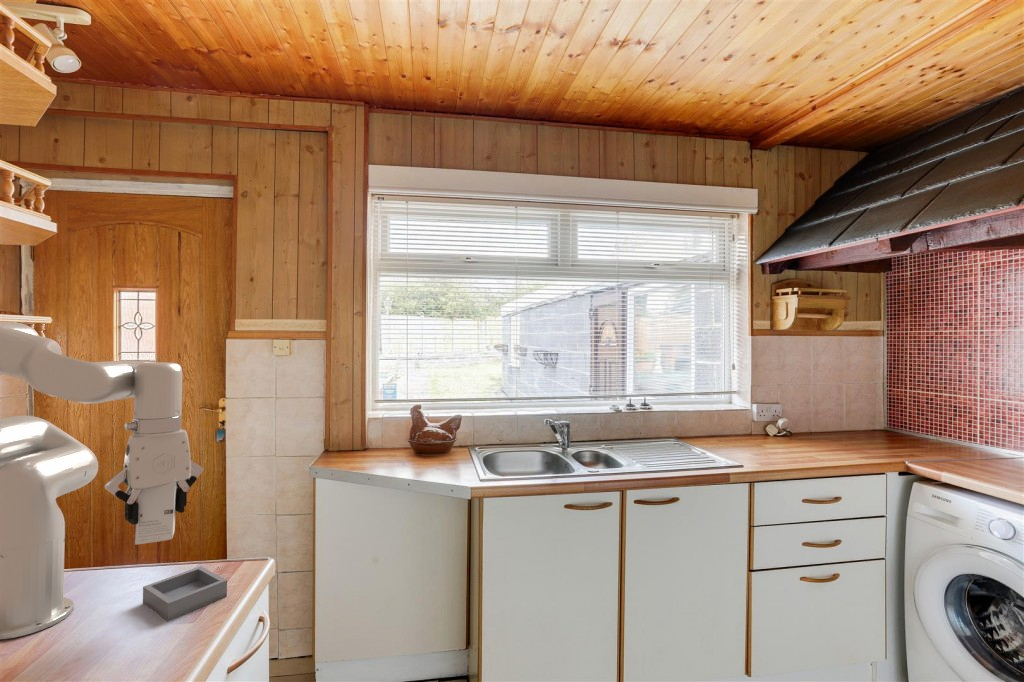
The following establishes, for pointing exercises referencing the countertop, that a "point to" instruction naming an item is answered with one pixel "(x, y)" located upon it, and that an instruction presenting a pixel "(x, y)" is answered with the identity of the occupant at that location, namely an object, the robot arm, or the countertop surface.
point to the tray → (184, 592)
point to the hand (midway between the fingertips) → (156, 516)
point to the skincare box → (156, 514)
